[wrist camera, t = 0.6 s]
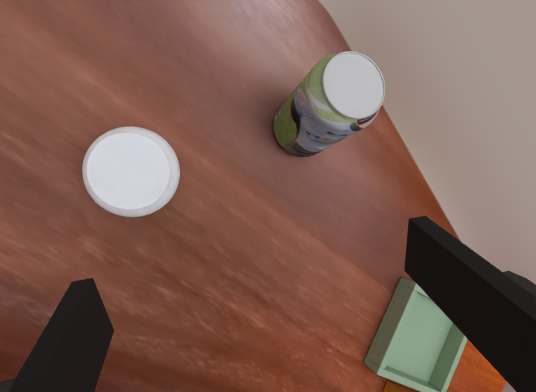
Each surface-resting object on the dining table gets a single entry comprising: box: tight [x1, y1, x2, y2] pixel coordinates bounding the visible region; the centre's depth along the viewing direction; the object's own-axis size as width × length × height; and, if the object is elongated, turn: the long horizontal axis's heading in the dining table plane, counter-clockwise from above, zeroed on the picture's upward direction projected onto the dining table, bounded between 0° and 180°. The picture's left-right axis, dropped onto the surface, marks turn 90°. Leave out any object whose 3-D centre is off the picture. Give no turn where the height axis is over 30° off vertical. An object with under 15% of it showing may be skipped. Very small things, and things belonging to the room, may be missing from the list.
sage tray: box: [364, 277, 468, 392], centre depth 40 cm, size 11×11×2 cm
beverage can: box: [274, 51, 385, 157], centre depth 29 cm, size 6×7×12 cm
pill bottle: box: [82, 126, 180, 217], centre depth 24 cm, size 6×6×11 cm
